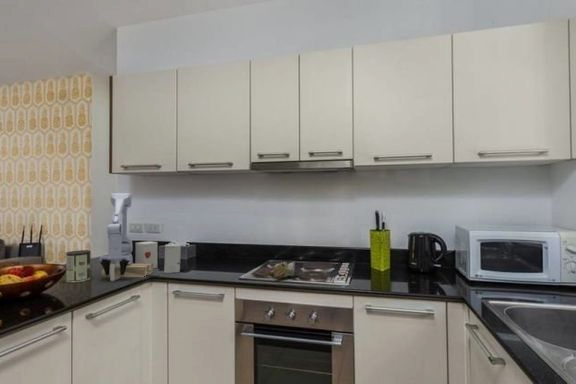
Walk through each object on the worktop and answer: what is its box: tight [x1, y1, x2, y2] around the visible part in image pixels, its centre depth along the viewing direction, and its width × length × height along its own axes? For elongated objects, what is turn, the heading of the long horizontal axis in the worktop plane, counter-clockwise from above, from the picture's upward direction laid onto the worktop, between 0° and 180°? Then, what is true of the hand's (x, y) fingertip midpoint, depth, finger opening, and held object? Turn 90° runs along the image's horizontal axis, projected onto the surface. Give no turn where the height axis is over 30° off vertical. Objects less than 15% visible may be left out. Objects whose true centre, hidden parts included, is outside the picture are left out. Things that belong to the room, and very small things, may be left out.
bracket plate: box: [109, 262, 120, 282], centre depth 163 cm, size 4×2×8 cm, turn 178°
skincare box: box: [163, 243, 182, 274], centre depth 180 cm, size 8×6×15 cm
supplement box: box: [135, 241, 158, 269], centre depth 190 cm, size 9×9×15 cm
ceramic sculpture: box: [264, 260, 296, 280], centre depth 165 cm, size 11×9×15 cm
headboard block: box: [101, 262, 154, 278], centre depth 173 cm, size 10×22×5 cm, turn 88°
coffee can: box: [65, 249, 92, 284], centre depth 162 cm, size 10×10×14 cm
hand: (114, 274), depth 163 cm, fingers open, 7 cm apart
